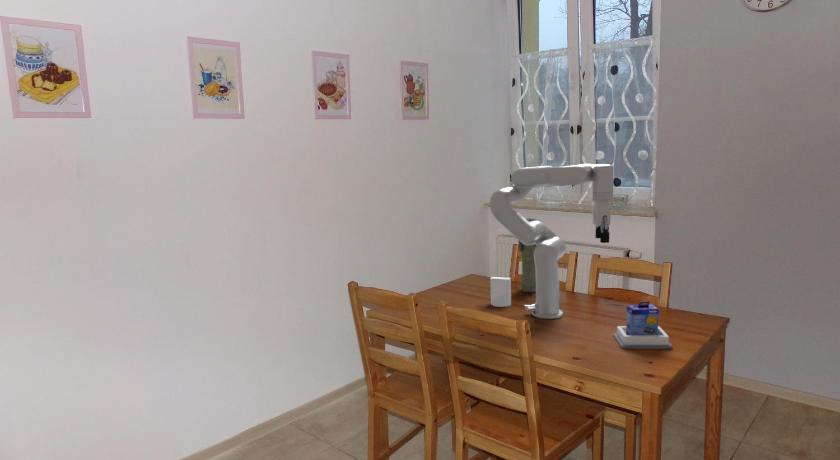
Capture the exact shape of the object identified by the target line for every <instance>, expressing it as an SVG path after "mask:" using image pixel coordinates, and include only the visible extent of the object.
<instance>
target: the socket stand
mask: <svg viewBox="0 0 840 460" xmlns="http://www.w3.org/2000/svg"><path fill="white" fill-rule="evenodd" d="M613 337H614V339H615V341H616V342H617V344H618V345H619V347H620V348H621V349H633V350H634V349H637V350H640V349H642V350H643V349H644V350H645V349H653V350H656V349H657V350H658V349H660V350H661V349H665V350H667V349H669V350H670V349H671V350H673V344H671V342H670V336H669V335H668V334H667V333H666V332H665V331H664V330H663V329H662V327H661V326H659V325H658V334H657V335H626V325H624V326H623V325H621V326H620V325H618V326H616V332H613Z"/></svg>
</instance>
